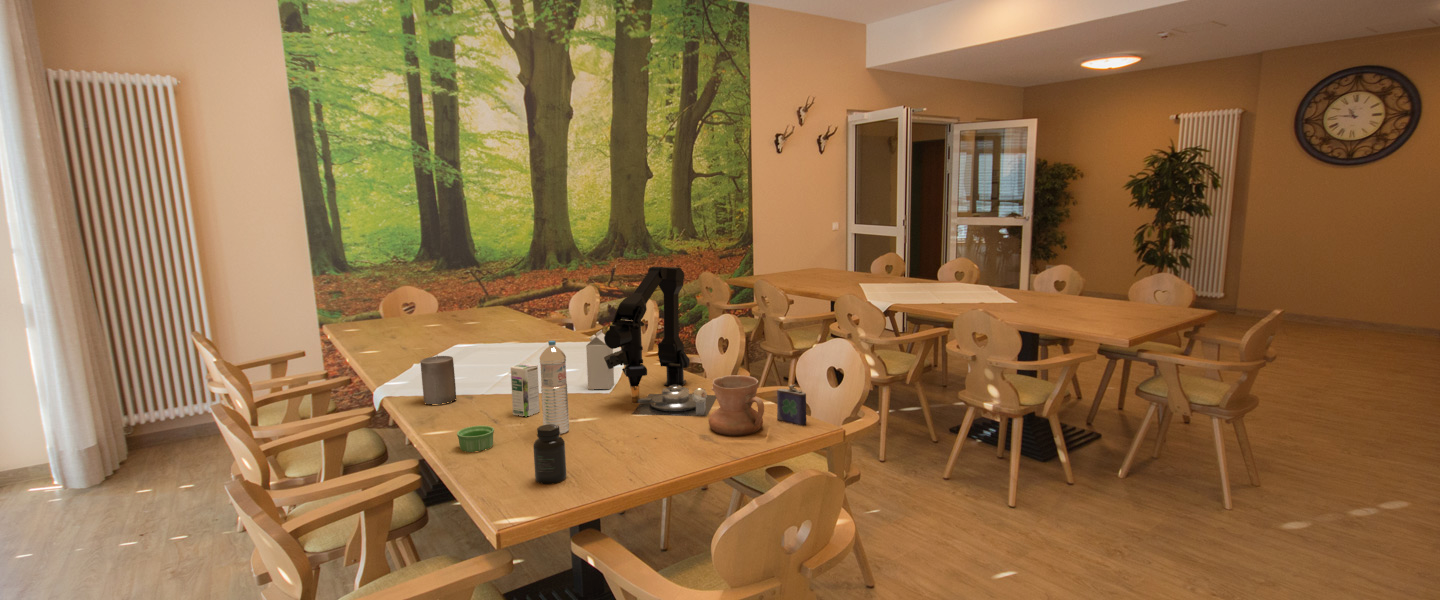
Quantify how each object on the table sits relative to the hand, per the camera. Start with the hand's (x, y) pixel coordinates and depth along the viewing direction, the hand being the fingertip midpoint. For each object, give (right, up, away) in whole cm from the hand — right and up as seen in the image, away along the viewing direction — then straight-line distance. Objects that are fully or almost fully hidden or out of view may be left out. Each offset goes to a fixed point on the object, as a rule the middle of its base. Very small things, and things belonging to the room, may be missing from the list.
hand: (633, 392), depth 220 cm
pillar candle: (-62, -4, +6) cm, 62 cm away
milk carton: (-13, -1, +20) cm, 24 cm away
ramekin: (-36, -10, -36) cm, 52 cm away
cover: (+13, -2, -5) cm, 14 cm away
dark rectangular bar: (+21, -4, -15) cm, 26 cm away
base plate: (+13, -4, -5) cm, 15 cm away
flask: (+46, -6, -21) cm, 51 cm away
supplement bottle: (-12, -12, -58) cm, 61 cm away
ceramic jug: (+31, -7, -28) cm, 43 cm away
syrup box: (-31, -5, -8) cm, 32 cm away
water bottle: (-18, -8, -25) cm, 32 cm away
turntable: (+11, -3, -5) cm, 12 cm away
